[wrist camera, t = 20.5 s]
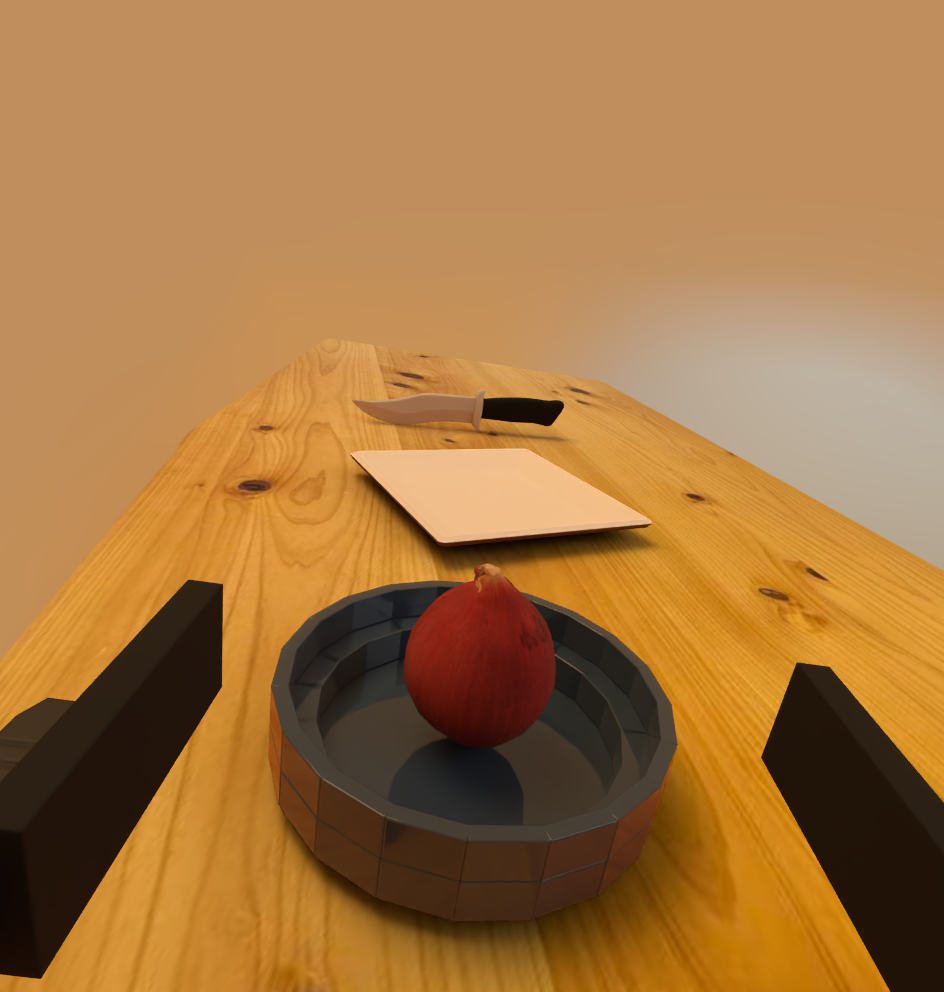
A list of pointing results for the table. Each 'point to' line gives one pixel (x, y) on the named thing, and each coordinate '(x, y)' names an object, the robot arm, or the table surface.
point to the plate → (493, 495)
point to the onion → (480, 662)
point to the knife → (461, 409)
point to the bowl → (465, 766)
